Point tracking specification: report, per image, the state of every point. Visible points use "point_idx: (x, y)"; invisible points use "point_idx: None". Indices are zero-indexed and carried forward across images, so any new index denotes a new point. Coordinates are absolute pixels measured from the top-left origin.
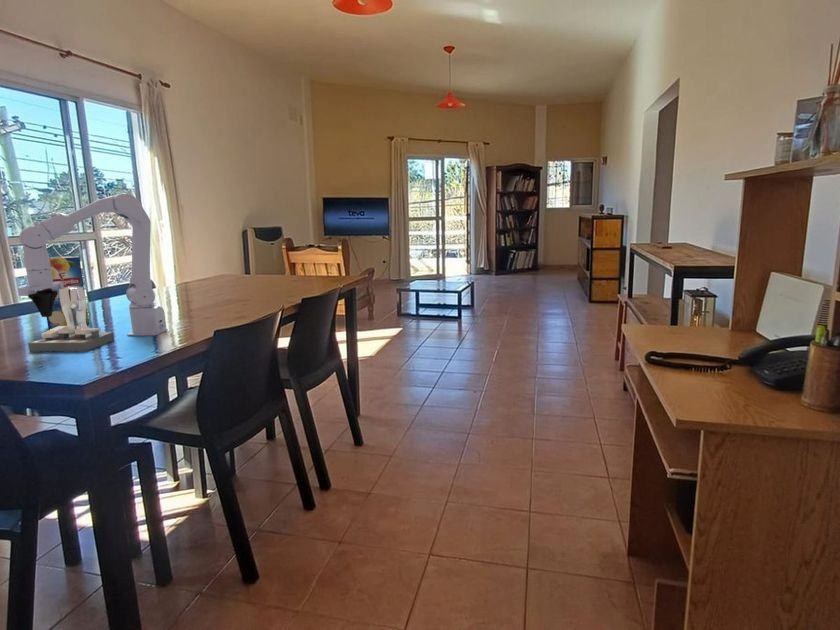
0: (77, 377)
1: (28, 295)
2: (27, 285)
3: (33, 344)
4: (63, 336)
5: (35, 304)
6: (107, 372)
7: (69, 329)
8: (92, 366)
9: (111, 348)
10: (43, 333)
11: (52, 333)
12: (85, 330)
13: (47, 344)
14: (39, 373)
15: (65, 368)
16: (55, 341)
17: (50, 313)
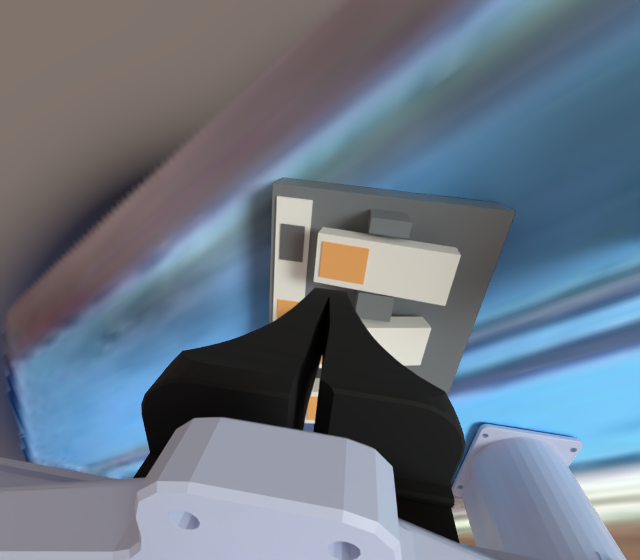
0: (62, 442)
1: (159, 377)
2: (191, 516)
3: (274, 208)
4: (355, 301)
5: (265, 328)
6: (103, 476)
7: (321, 366)
8: (135, 441)
9: (304, 428)
10: (322, 242)
11: (327, 282)
12: (309, 421)
13: (271, 272)
14: (62, 362)
15: (110, 397)
16: (280, 303)
17: (322, 351)
